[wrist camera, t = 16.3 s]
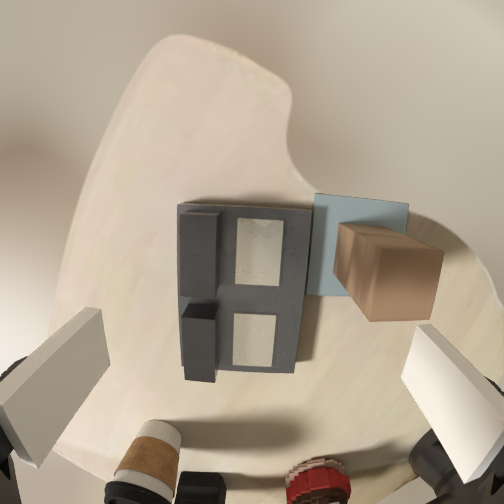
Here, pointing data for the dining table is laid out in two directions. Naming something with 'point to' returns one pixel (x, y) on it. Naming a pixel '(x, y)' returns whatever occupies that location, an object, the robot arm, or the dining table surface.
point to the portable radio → (200, 488)
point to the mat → (325, 234)
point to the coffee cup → (147, 467)
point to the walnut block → (387, 272)
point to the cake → (318, 483)
